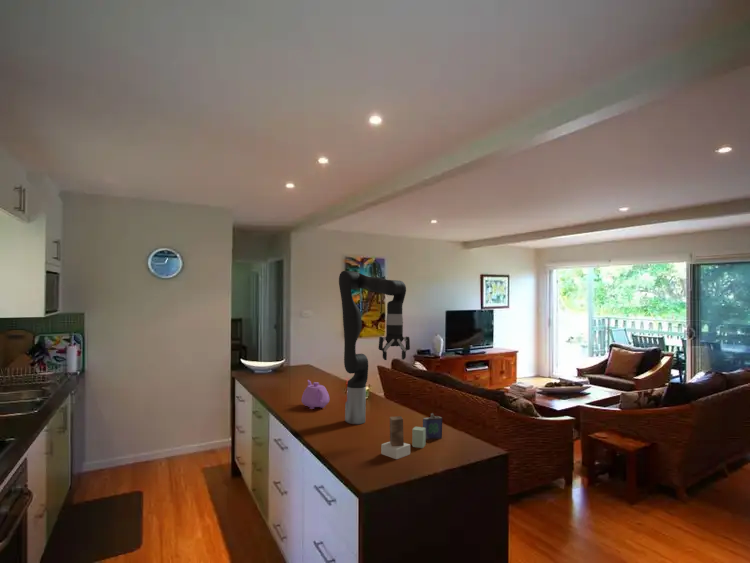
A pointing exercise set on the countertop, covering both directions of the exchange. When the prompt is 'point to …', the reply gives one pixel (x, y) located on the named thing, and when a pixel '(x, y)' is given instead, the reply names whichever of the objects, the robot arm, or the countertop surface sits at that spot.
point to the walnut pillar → (396, 431)
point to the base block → (395, 450)
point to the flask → (433, 427)
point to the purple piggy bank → (315, 395)
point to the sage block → (418, 437)
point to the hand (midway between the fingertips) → (394, 359)
